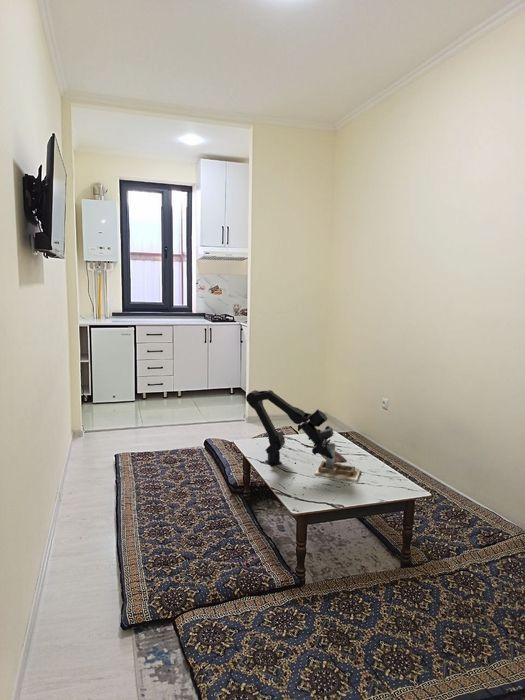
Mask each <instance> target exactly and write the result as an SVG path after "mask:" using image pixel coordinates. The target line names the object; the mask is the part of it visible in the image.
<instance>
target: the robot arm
mask: <svg viewBox="0 0 525 700" xmlns="http://www.w3.org/2000/svg"><path fill="white" fill-rule="evenodd" d="M245 400H246V403H248V405H249V406H250V408H252V409H253V410H254V411H255V413H256V414H257V416H258V418H259V420H260V423H261V425H262V426H263V428H264V430H265V432H266V433H267V437H268V443H269V445H268V447H266V448H265V452H266V454H267V460H264V462H265V463H266V464H268V465H270V466H273V467H274V466H276V465H281V464H283V461H281V460H280V459H281V456H280V455H281V453H280V450H281V449H282V448H283V447H284V446H285V444H286V440H285V439H286V437H284V435H283V432H282V431H280V432H279V431H277V429H276V428H275V426H274V424H273V422H272V420H271V418H270V416H269V414H268V413H267V411H266V408H265V406H264V402H263V401H265V400H266V401H267V400H268V401H269V402H270V403H272V404H273V405H274V406H276V407H277V408H279V409H280V410H282V411H283V412H284V413H285V414H286V415H287V416H288V418H289V419H290V420H291V421H292V423H294V424H295V425H297V432H300V431H301V430H302V431H303V432H304V433H305V435H306V436H307V437H308V438H307V439H308V441H311V442H312V444H313V446H315V447H314V448H313V447H312V449H311V453H312V454H313V455H314V456H316V455H318V454H319V455H321V456H322V455H323V456H326V457H328V458H330V459H333V457H332V455H331V453H330V452H329V450H328V449H327V443H331V439H330V438H331V437H333V436H334V434H335V433H334V431H333V430H334V429H333V428H332V427H331V426H329V425H326V426H325V429H323V430H321V429H319V427H320V426H322V425H323V424H324V423H325V422H326V421H328V417H327V414H325V412H323V411H321V410H319V409H316V410H315V411H314V412H313V413H308V412H305V411H304V410H303V409H301V408H299V407H295V406H293V405H291V404H290V403H289V402H287V401H286V400H284V399H283V398H282V397H280V395H278V394H276V393H275V392H274V391H273V390H272V389H271V390H270V389H269V390H256V389H255V390H252V391H250V392H249V393H247V395H246V396H245ZM317 427H318V428H317ZM323 456H322V457H323Z"/></svg>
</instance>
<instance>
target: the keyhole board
mask: <svg viewBox="0 0 525 700" xmlns="http://www.w3.org/2000/svg"><path fill="white" fill-rule="evenodd" d="M361 469H362V468H361ZM361 469H360V468H356V466H352V465H346V464H342V463H340V462H337V463H334V469H328V468H326V460H325V461H324V460H322V461H321V462H320V463H319V465H318V467H317V468H316V470H315V472H314V475H315V476H318V475H320V477H325V476H326V478H332V479H338V480H344V481H351V482H354V483H355V482H356V483H357V482H358V479H359V476H360V474H361Z"/></svg>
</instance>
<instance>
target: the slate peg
mask: <svg viewBox="0 0 525 700" xmlns="http://www.w3.org/2000/svg"><path fill="white" fill-rule="evenodd" d="M327 449H328V450H329V452H330V453H331V455H332V457H333V459H330V458H328V457H326V458H325V461H326V468H328V469H334V459H335V451H336V443H335V442H330V443H327Z"/></svg>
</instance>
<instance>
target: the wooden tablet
mask: <svg viewBox="0 0 525 700" xmlns="http://www.w3.org/2000/svg"><path fill="white" fill-rule="evenodd" d="M313 446H314V445H313ZM314 447H315V446H314ZM321 456H322V457H324V459H326V456H323V455H321ZM347 461H348V460H347V458H345V457H344V456H343V455H342V454H340V453H339V452H337V451H336V450H335V459H334V463H336V462H337V463H346V462H347Z"/></svg>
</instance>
